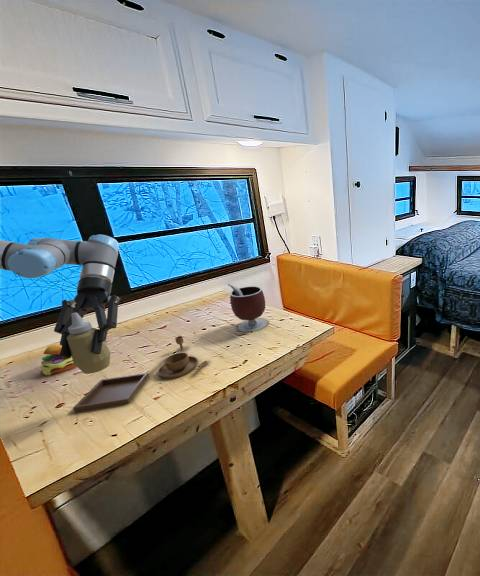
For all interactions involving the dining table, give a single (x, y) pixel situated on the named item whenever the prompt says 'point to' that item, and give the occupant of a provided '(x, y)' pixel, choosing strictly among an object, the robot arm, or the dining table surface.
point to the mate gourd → (248, 307)
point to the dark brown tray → (112, 392)
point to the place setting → (179, 363)
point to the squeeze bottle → (86, 347)
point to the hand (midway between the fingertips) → (80, 354)
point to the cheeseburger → (55, 361)
